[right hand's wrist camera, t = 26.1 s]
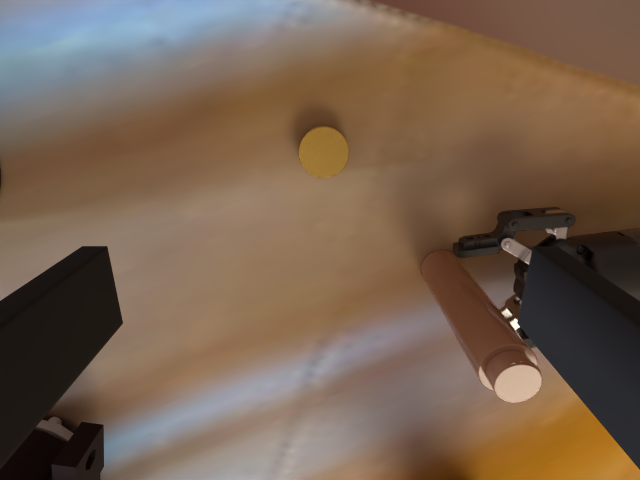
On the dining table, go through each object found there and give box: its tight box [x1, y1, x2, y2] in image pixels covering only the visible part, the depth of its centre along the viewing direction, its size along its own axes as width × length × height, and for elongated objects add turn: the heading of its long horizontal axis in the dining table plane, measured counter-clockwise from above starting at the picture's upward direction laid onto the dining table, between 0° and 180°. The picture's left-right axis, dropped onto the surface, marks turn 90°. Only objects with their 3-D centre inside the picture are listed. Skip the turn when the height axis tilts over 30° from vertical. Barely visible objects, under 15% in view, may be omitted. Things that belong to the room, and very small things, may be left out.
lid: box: [299, 125, 349, 178], centre depth 39 cm, size 5×5×2 cm
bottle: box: [421, 250, 542, 403], centre depth 36 cm, size 4×4×19 cm
